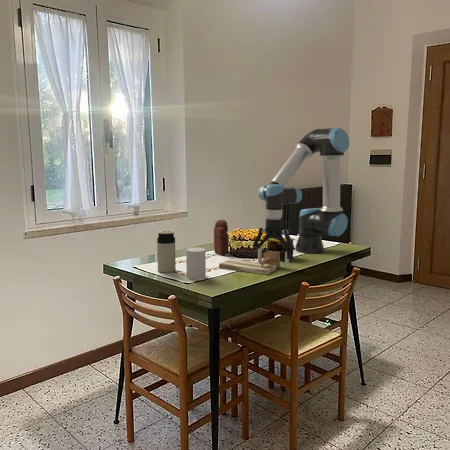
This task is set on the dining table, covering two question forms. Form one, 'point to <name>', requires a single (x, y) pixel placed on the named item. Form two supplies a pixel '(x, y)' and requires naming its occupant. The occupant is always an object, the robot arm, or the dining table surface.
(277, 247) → the candle
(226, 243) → the wooden figurine
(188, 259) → the grey cylinder
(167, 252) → the travel mug
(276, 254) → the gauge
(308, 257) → the dining table surface
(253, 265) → the board
